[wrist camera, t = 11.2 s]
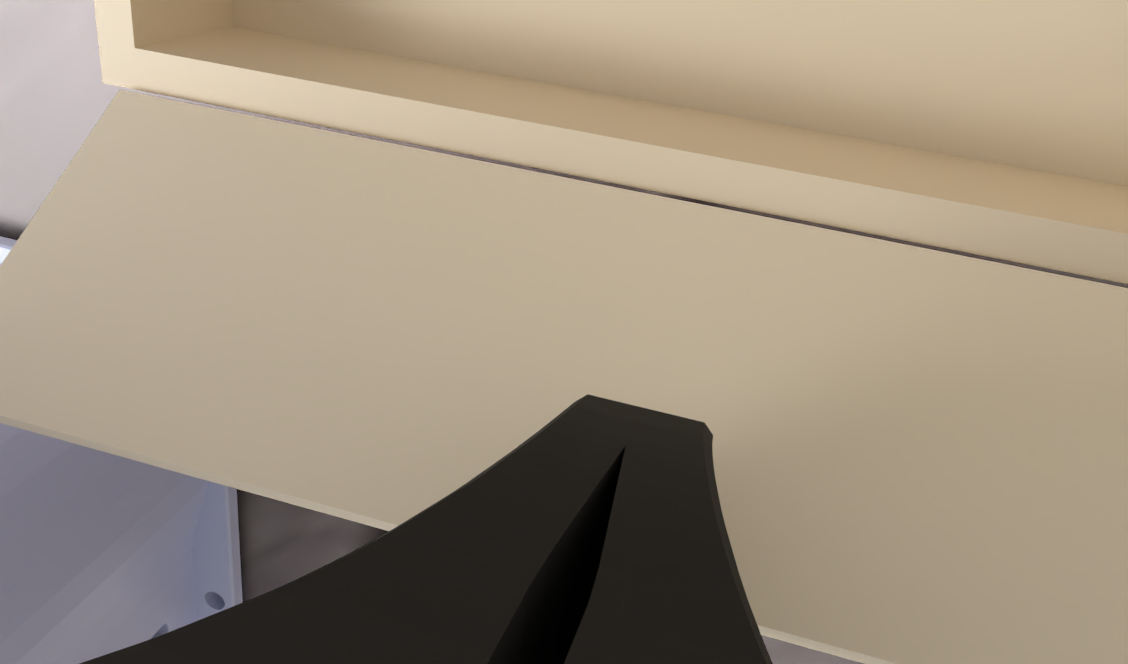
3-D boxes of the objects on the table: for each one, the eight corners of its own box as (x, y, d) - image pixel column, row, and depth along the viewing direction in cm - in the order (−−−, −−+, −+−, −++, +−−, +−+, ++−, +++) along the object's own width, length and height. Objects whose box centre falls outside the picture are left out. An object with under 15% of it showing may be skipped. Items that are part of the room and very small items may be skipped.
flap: (1459, 353, 10) (1432, 369, 11) (119, 89, 13) (132, 108, 14) (1553, 845, 8) (1512, 845, 8) (-86, 392, 11) (-64, 405, 11)
